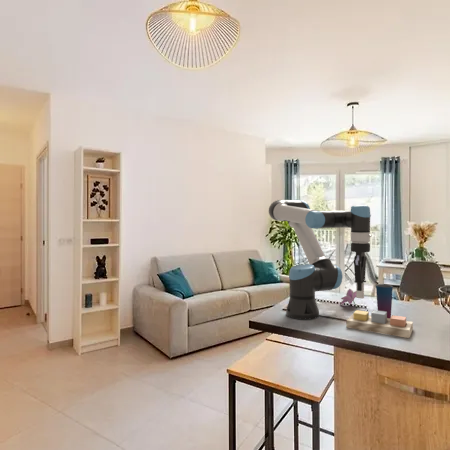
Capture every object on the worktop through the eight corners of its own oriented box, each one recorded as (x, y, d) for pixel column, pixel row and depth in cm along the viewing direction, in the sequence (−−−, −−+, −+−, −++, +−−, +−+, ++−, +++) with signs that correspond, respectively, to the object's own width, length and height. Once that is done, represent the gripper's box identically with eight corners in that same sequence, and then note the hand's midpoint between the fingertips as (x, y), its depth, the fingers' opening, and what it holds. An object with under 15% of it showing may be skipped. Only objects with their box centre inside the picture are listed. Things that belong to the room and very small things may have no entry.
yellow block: (353, 322, 138) (353, 312, 138) (356, 319, 142) (356, 310, 142) (366, 324, 135) (366, 314, 135) (368, 321, 139) (368, 311, 139)
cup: (395, 321, 143) (394, 287, 143) (378, 321, 144) (378, 287, 144) (390, 317, 150) (390, 284, 149) (374, 316, 151) (374, 283, 151)
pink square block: (390, 328, 130) (390, 318, 130) (392, 324, 134) (392, 315, 134) (404, 330, 127) (404, 320, 127) (406, 326, 131) (406, 317, 131)
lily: (364, 306, 171) (356, 289, 175) (369, 303, 161) (361, 284, 165) (342, 314, 172) (334, 296, 176) (346, 311, 161) (338, 292, 165)
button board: (346, 327, 137) (346, 320, 136) (353, 319, 146) (353, 313, 146) (409, 338, 123) (409, 330, 123) (412, 329, 133) (412, 321, 133)
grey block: (371, 322, 134) (371, 312, 134) (373, 319, 138) (373, 310, 138) (384, 324, 131) (384, 314, 131) (386, 321, 135) (386, 311, 135)
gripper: (366, 244, 131) (366, 302, 132) (373, 241, 141) (372, 295, 142) (346, 243, 135) (346, 299, 136) (354, 240, 146) (354, 293, 147)
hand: (360, 297), depth 139 cm, fingers closed
